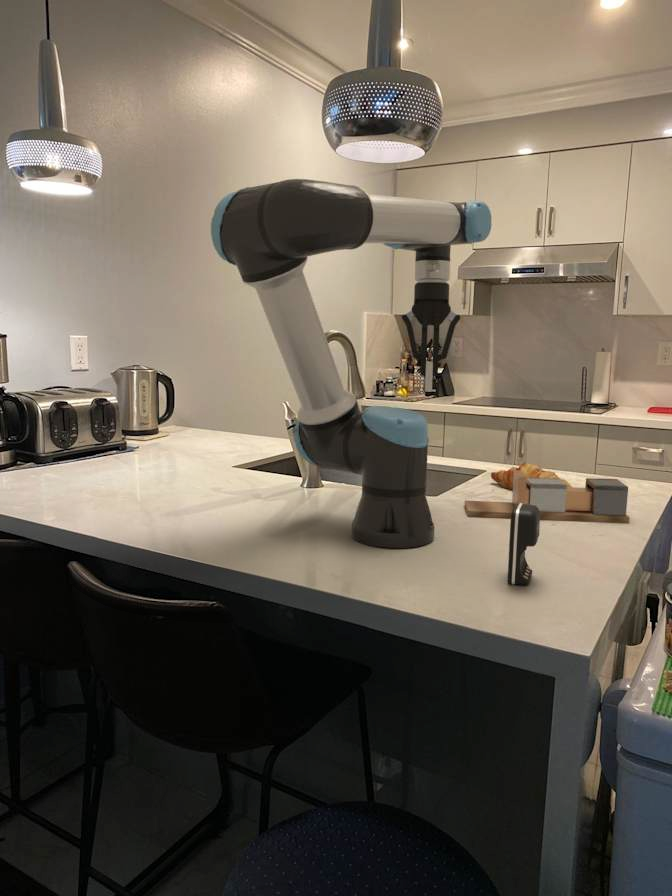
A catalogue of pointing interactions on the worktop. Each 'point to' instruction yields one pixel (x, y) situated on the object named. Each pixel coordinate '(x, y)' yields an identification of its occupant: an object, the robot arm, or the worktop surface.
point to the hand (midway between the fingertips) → (428, 390)
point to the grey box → (608, 496)
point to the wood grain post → (574, 496)
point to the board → (506, 509)
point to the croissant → (529, 471)
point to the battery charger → (522, 541)
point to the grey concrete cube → (547, 494)
